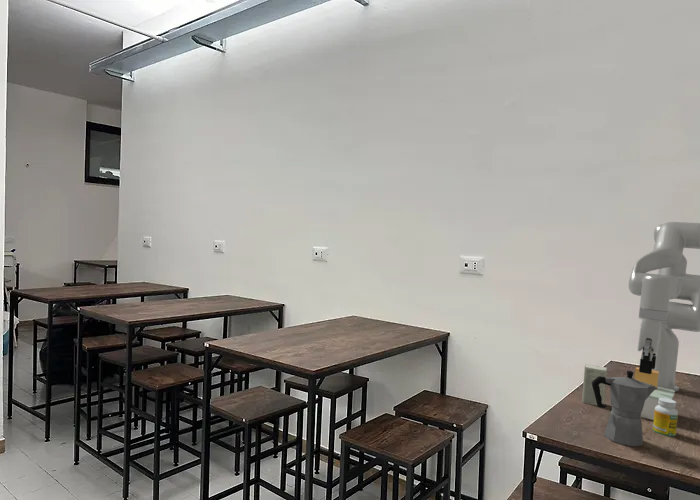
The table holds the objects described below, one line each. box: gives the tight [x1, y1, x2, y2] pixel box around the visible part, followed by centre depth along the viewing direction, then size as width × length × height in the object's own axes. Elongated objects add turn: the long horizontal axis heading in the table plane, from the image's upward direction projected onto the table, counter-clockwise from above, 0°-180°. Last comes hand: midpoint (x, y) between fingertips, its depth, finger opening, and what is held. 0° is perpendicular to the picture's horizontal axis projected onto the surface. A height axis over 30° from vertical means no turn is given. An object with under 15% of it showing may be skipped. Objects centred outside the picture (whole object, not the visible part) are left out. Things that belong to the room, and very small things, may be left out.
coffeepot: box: [592, 370, 657, 447], centre depth 130 cm, size 15×9×18 cm, turn 78°
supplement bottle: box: [652, 398, 679, 437], centre depth 135 cm, size 5×5×10 cm
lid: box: [634, 366, 675, 400], centre depth 151 cm, size 13×15×7 cm
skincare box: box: [581, 364, 608, 407], centre depth 155 cm, size 6×4×12 cm
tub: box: [641, 398, 659, 421], centre depth 151 cm, size 12×14×7 cm
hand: (647, 370), depth 154 cm, fingers open, 9 cm apart
